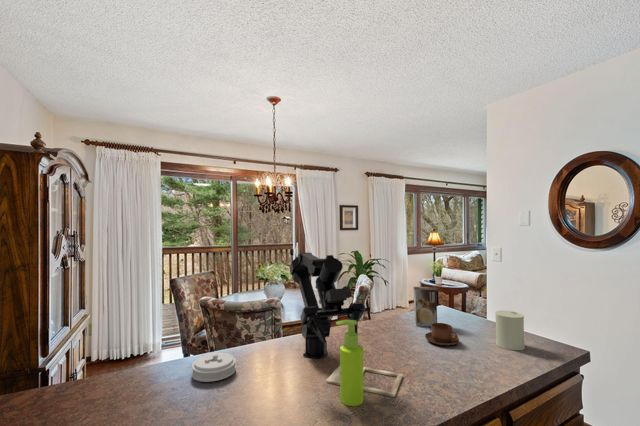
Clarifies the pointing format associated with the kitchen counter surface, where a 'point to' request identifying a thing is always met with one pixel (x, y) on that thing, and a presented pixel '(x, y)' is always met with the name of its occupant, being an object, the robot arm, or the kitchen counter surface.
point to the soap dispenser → (351, 367)
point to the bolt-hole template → (336, 380)
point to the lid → (213, 367)
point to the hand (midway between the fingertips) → (340, 341)
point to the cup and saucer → (442, 334)
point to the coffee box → (425, 306)
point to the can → (510, 330)
